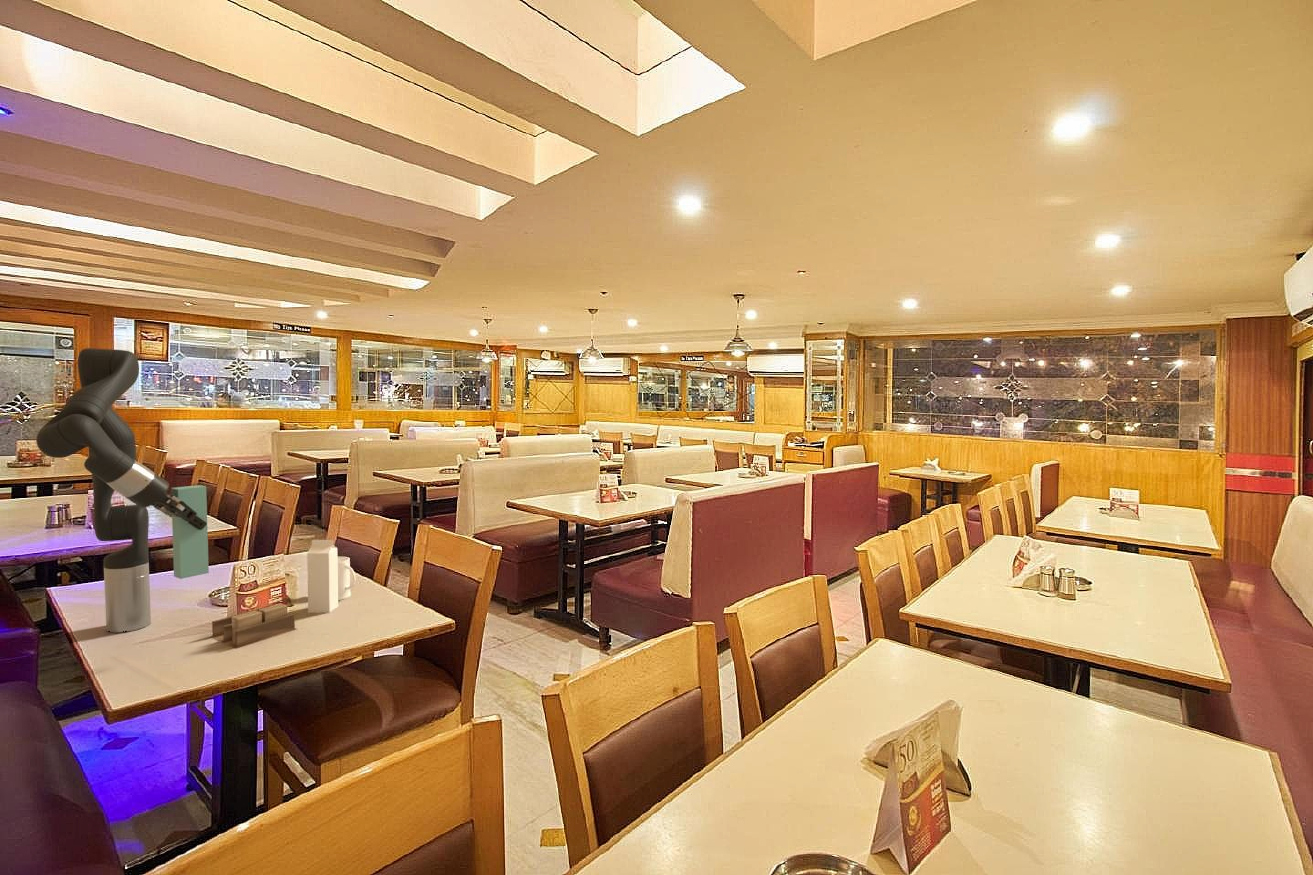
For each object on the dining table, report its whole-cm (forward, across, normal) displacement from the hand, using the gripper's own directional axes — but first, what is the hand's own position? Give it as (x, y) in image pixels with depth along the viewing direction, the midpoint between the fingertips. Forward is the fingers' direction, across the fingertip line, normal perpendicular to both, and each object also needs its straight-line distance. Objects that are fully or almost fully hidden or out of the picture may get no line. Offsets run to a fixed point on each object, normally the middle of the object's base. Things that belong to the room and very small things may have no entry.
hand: (199, 525), depth 153 cm
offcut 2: (+30, -9, +12) cm, 33 cm away
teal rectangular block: (+7, 0, +10) cm, 12 cm away
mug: (+51, +6, -6) cm, 51 cm away
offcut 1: (+25, -9, +16) cm, 31 cm away
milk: (+43, -4, +1) cm, 43 cm away
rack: (+29, -6, +15) cm, 33 cm away
